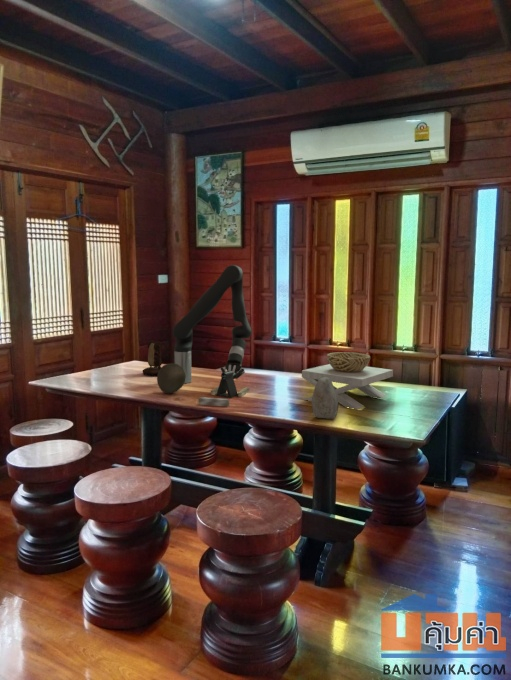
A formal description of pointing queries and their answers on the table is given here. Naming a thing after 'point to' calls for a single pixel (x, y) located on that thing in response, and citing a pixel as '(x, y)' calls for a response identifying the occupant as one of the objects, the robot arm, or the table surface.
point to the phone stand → (227, 385)
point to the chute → (217, 400)
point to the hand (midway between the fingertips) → (229, 384)
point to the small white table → (349, 376)
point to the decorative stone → (324, 399)
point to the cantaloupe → (171, 378)
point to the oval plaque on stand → (153, 358)
